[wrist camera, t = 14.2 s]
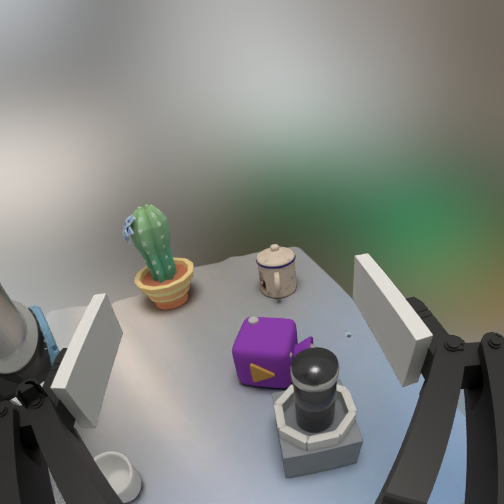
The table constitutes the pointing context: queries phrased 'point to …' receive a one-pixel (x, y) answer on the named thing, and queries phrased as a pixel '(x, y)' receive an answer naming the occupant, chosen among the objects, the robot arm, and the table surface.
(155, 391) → the table surface
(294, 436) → the camera body block
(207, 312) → the table surface
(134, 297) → the table surface
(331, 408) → the lens
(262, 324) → the toy camera
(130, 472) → the teacup
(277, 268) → the teacup with lid
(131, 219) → the potted cactus
